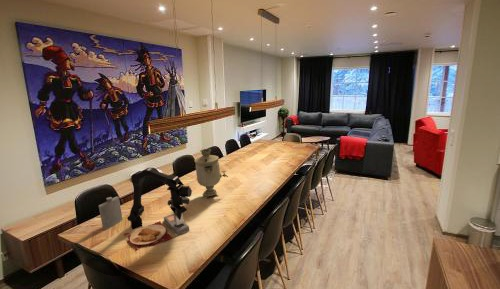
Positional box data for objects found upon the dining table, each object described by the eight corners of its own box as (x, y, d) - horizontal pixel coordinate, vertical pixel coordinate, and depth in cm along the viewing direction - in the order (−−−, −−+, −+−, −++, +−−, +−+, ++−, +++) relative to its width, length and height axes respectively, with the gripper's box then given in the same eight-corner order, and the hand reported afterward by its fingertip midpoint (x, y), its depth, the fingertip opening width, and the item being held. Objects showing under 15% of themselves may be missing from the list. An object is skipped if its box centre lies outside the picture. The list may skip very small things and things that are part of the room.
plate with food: (160, 223, 185) (159, 219, 184) (172, 239, 164) (171, 234, 164) (124, 236, 173) (123, 231, 172) (131, 254, 152) (130, 249, 151)
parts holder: (176, 235, 168) (176, 230, 167) (164, 220, 187) (163, 216, 186) (189, 230, 173) (188, 226, 172) (175, 216, 192) (175, 212, 191)
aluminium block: (176, 225, 171) (175, 217, 170) (174, 222, 174) (173, 214, 173) (183, 223, 173) (182, 214, 172) (180, 220, 177) (179, 212, 176)
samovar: (227, 202, 211) (223, 154, 202) (194, 203, 212) (189, 155, 203) (230, 187, 240) (227, 145, 231) (201, 188, 241) (197, 146, 232)
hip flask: (120, 218, 194) (115, 192, 189) (124, 218, 193) (120, 193, 188) (102, 229, 179) (96, 202, 175) (106, 230, 178) (101, 203, 174)
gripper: (193, 196, 167) (195, 219, 170) (181, 188, 181) (184, 209, 185) (176, 202, 160) (179, 225, 164) (165, 192, 175) (168, 214, 179)
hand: (178, 218), depth 173 cm, fingers closed on aluminium block, 4 cm apart
